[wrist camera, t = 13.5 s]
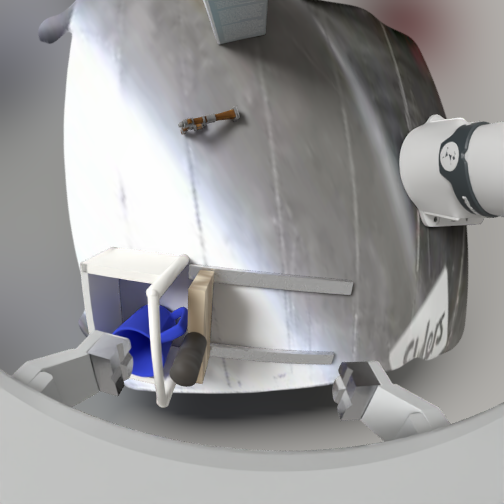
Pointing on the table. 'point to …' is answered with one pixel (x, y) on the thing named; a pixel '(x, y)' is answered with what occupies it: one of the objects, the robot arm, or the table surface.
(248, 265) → the table surface
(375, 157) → the table surface
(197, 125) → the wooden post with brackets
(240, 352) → the rails
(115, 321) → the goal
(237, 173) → the table surface
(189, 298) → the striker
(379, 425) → the robot arm
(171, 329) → the mug
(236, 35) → the hard drive box
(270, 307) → the table surface
